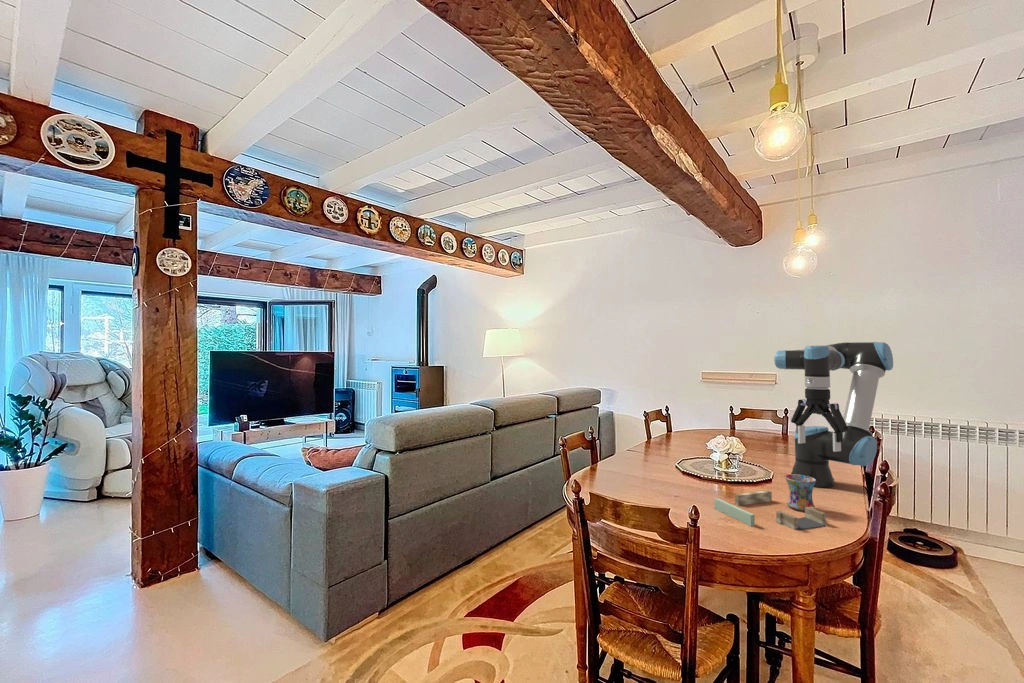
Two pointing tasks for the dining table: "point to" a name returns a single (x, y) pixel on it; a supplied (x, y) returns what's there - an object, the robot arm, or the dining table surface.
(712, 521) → the dining table surface
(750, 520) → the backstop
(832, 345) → the robot arm
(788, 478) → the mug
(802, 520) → the plate
